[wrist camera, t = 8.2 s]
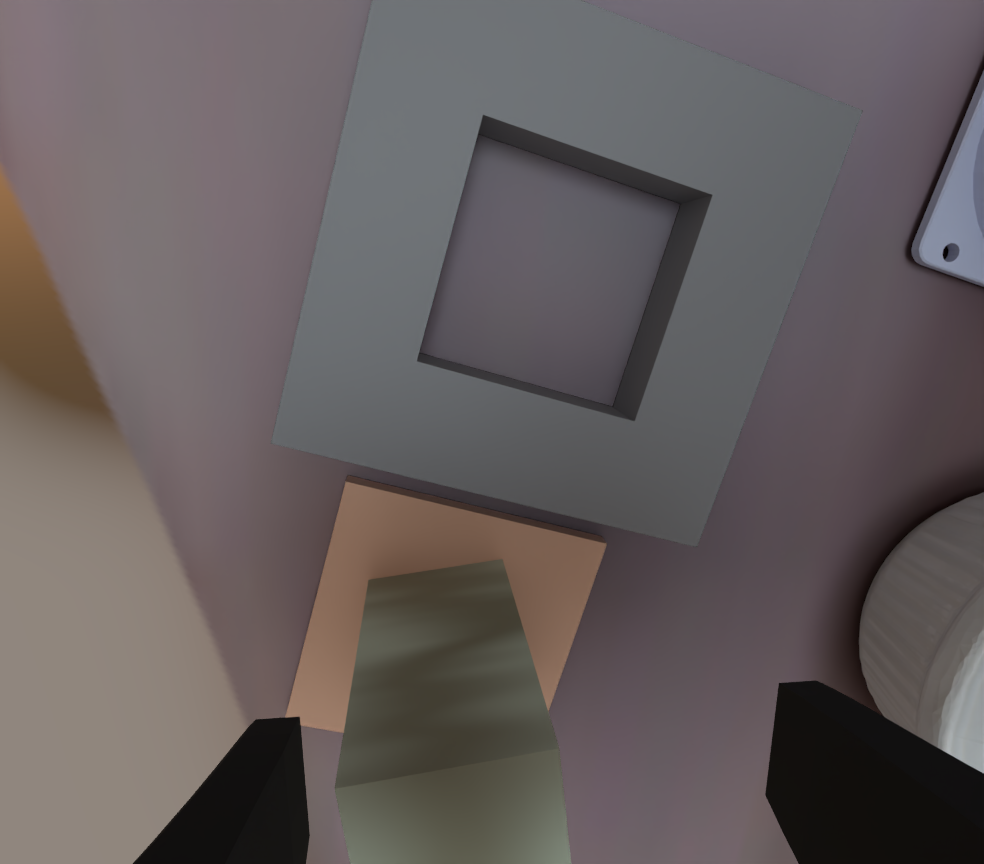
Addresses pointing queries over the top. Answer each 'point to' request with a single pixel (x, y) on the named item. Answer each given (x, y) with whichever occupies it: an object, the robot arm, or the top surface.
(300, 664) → the coaster
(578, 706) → the top surface
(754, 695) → the top surface
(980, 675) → the ramekin
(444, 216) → the pocket board
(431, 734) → the sage block
